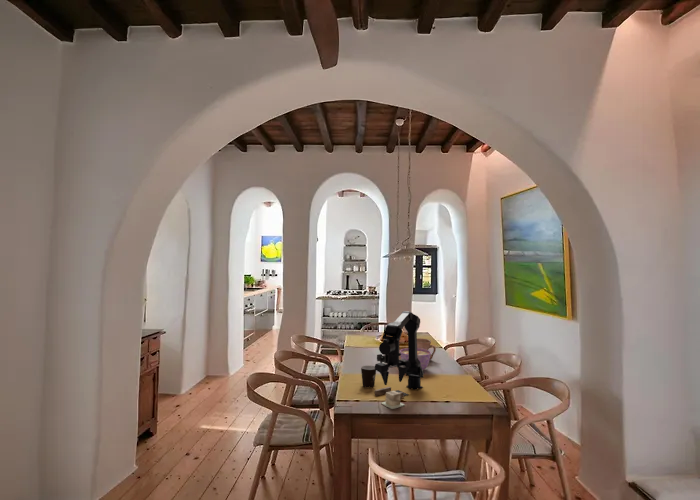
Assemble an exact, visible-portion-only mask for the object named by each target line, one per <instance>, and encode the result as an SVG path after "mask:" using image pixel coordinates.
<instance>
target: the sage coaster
mask: <svg viewBox="0 0 700 500" xmlns="http://www.w3.org/2000/svg"><path fill="white" fill-rule="evenodd" d="M380 403H381V405H382V406H384V407H387V408H388V409H391V410H394V409H397V408H402V407H405V406H406V404H405V403H403V402H400V404H399V405H395V406H391V405H389V404H387V403H386V401H383V402H380Z"/></svg>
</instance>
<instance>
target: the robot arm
mask: <svg viewBox="0 0 700 500" xmlns="http://www.w3.org/2000/svg"><path fill="white" fill-rule="evenodd" d="M420 325H421V318H420V317H419V316H418V315H417V314H414V313H413V312H412V311H406V310H405V311H402V312H401V314H400V315H399V316H397V318H396V320H394V321H392V322H389V323H387V324H386V326H385V327H384V331H383V334H382V337H381V339H382V342H381V343H380V344H379V347H378V350H379V352H380V354H376V361H377V363H375V364H374V366H375V370H376V372H378V373H380V376H381V378H382V380H383V384H384V386H387V385H388V379H389V375H390V371H389V370H390V368H391V369H392V368H396V367H397V369H398V382H399V383H401V382H402V381H403V379H404V377H405V376H406V377H408V379H407V385H406V388H408V389H411V390H413V391H415V390H419V389H423V386H422V385H421V384H422V383H421V378H422V379H423V378H424V373H425V372H424V369H423V370H422V367H421V363H420V361H419V359H418V358H417V339H418V335H417V334H418V333H417V332H418V330H419V328H420V327H421V326H420ZM404 328H405V330H406V332H407V344H408V345H407V346H408V353H409V359H408V360H406V359H401V358H400V357H401V353H400V340H401V337H402V334H403V329H404Z"/></svg>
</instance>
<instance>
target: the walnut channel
mask: <svg viewBox="0 0 700 500" xmlns="http://www.w3.org/2000/svg"><path fill="white" fill-rule="evenodd" d="M390 391H392V387H391V386H387V387H383V388H382V387H381V388H377V389H374V392H373V393H374V396H376V397H377V396H382V395H386V392H390ZM403 392H404V391H402V392H399V393H400V399H403V398H404V396H403Z"/></svg>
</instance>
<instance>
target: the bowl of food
mask: <svg viewBox="0 0 700 500" xmlns="http://www.w3.org/2000/svg"><path fill="white" fill-rule="evenodd" d="M399 353H401V356H400V359H406V360H408V359H409V353H408V348H401V349H399ZM431 355H432V352H431V350H429V349H428V350H426V349H420V348H417V358H418V359H419V361H420V363H421V367H422V370H423V371H424V370H425V369H427V368H428V367H429V364H430V361H431V360H430V356H431ZM429 360H430V361H429Z"/></svg>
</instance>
